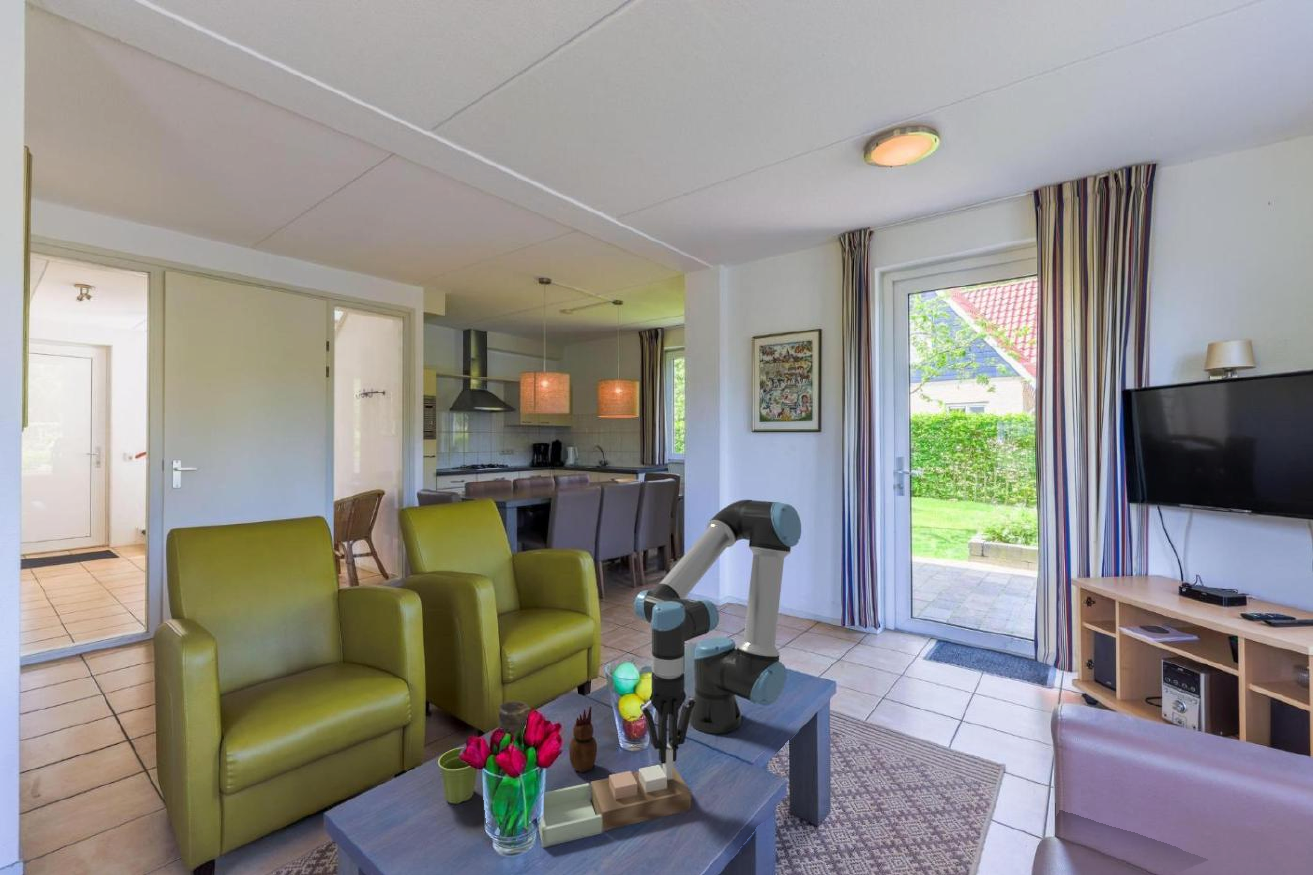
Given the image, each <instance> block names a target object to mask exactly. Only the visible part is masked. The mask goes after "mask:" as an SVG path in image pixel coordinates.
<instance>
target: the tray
mask: <svg viewBox="0 0 1313 875" xmlns="http://www.w3.org/2000/svg"><path fill="white" fill-rule="evenodd" d="M544 792H545V800H544V817H543V815H542V818H541V820H540V827H539V829H538V833H539V838H540V842H541V846H542V848H548V847H551V846H554V845H555V846H556V845H559V844H563V843H568V842H571V841H576V840H580V839H584V838H588V837H592V836H595V835H599V834H600V835H601V834H602V832H603V830H602V816H601V814H599V815H597V814H596V812H595V809H594V806H593V804H592V801H591V798H590V783H589V782H588V783H583V784H578V785H573V786H568V787H564V788H563V787H562V788H559V789H555V790H549V791H544Z"/></svg>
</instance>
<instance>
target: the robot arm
mask: <svg viewBox="0 0 1313 875" xmlns="http://www.w3.org/2000/svg"><path fill="white" fill-rule="evenodd" d="M801 536H802V522H801V518H800V515H799V512H798V511H797V510H796V508H795V507H794V506H793V505H791V504H789V503H783V502H779V501H778V502H777V501H766V500H763V501H762V500H753V499H741V500H737V501H735V502H732V503H730V504H729V505H727V506H725V507H724V508H722V509H721V510H719V511H718V512H717V513H716V514H715V515H714V516H713V517H712V518H711V519H710V520H709V521H708V522H707V524H706V530H705V531H704V532H703V533H702V534H701V536H700V537H699V538H698V539H697V540H696V541H695V543H693V545H692V546H690V548H689V549H688V550H687V552H686V553H684V554H683V556H682V557H681V558H680V560H679V561H677V563H676V564H675V565H674V566H673V568H672V569H670V571H669V572H668V573H667V574H666V575H665V576H664V577H663V579H662V580H661V581H660V582H659V584H658V585H657V586H656V587H655V588H654V589H653V590H651V589H649V590H647V589H645V590H642V591H640V592H639V593H638V594H637V596H635V600H634V602H633V608H634V613H635V615H636V616H637V618H638V619H641V620H642V621H645V622H647V623H650V626H651V694H650V696H649V701H647V703H646V704H640V706H639V708H640V710H641V713H643V714H644V719H645V724H646V727H647V731H648V736H649V740H650V744H651V745H652V747H653V748H654V750H658V760H659V763H661V764H662V765H661V767H662V770H663V771H664V773H665V775H666V776H667V779H672V778H673V766H674V762H676V761H677V756H678V754H677V753H678V752H677V751H678V750H679V748H680V747H679V745H683V744H684V743H685V742H686V737H687V733H688V727H689V724H690V725H691V726H692V727H693V728H694V729H696V730H698V731H701V732H704V733H707V734H716V735H717V734H718V735H720V734H728V733H731V732H734V731H736V730H737V729H738V728H739V727H741V724H742V713H741V710H740V707H739V704H738V700H737V697H740V698H742V699H745V700H747V701H750V702H751V703H753V704H759V705H762V706H770V705H772V704H774V703H775V702H776V701H777V700H778V699H779V698H780V696H781V694H782V692H783V690H784V688H785V685H786V681H787V670H786V666H785V664H783V662H781V661H780V657H781V656H780V651H779V650H778V649H777V647H776V641H777V640H776V638H777V629H778V621H779V619H778V618H779V611H780V610H779V609H780V602H781V601H780V600H781V592H782V582H783V573H784V572H783V571H784V564H785V563H784V562H785V558H786V557H787V556H788V555H789V554H791V551H792V550H791V548H793V547H795V546H797V545H798V544H799V540H800V539H801ZM741 540H747V541H749V542H748V548H749V550H750V551H752V553H753V555H752V564H751V570H750V571H751V572H750V580H749V581H750V582H749V590H748V599H747V607H746V617H745V625H744V634H743V640H742V641H740V642H739V643H738V645H737V644H736V642H735V641H734V639H732V638H728V637H710V638H709V637H708V638H705V639H703V640H701V641H698V642H697V643H696V645H695V649H694V656H693V659H694V660H693V662H694V693H693V698H692V697H691V696H689V695H688V696H687V694H686V692H685V668H686V667H685V657H686V656H685V645H686V643H685V642H687V641H690V640H692V639H694V638H698V637H700V636H703V635H706V634H708V633H709V632H711V631H713V630H715V629H716V628H717V626H718V625H719V622H720V613H719V609H718V607H717V606H716V605H715V604H714V602H713V601H710V600H708V599H703V600H700V599H699V600H697V601H695V602H694V601H689V600H686V599H685V598H686V597H687V596H688V595H689V593H691V591H692V590H693V589H694V588H695V586H696V585H697V584H698V583H699V581H701V579H702V578H703V577H704V576H705V574H706V573H707V572H708V571H709V569H710V568H711V567H712V566H713V564H714V563H716V561H717V560H718V559H719V557H720V556H721V555H722V553H724V551H725V550H726V549H727V548H731V547H733V546H734V545H735V544H736V542H738V541H741ZM736 646H737V648H736ZM653 708H654V709H655V710H656V711H657V716H658V717H657V718H658V720H657V723H658V724H657V728H656V725H655V722H654V721H655V720H654V716H653V715H652V714H653ZM680 709H681V711H680V716H679V710H680ZM678 719H679V720H678ZM656 729H657V730H656ZM667 742H668V743H667Z"/></svg>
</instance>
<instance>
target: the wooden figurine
mask: <svg viewBox="0 0 1313 875" xmlns="http://www.w3.org/2000/svg"><path fill="white" fill-rule="evenodd" d="M572 732H573V733H572V734H573V737H572V738H571V740H570V742H569V745H568V746H569V748H568V749H569V761H570V764H571V767H572V768H573V769H574V770H575V771H577V772H583V773H584V772H588V771H590V770H591V769H593V767H594V765H595V763H596V760H597V754H598V744H597V743H598V742H597V740H596V739H595V737H593V735H594V727H593V724H592V706H590V707H589V709H588V714H587V713H586V709H583V715H582V713H579V717H576V720H575V724H574V725H573V728H572Z"/></svg>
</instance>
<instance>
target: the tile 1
mask: <svg viewBox="0 0 1313 875" xmlns="http://www.w3.org/2000/svg"><path fill="white" fill-rule="evenodd" d="M632 773H633V772H632V771H631V770H628V771H622V772H617V773H613V774H609V775H608V778H609V787H610V789H611V792H612V794H613V796H614V798H615V800H617V799H621V798H625V797H630V796H634V795H637V782H636V780H635V778H634V777H633V775H632Z"/></svg>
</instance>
